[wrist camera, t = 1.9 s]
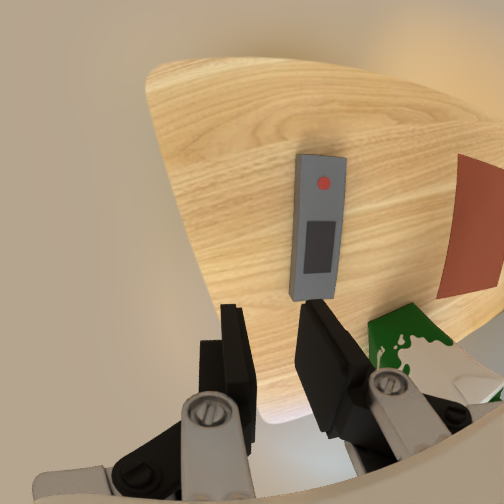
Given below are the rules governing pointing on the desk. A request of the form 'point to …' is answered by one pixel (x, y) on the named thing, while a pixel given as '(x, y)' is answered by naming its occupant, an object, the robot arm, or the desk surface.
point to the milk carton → (430, 358)
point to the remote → (317, 226)
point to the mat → (475, 230)
